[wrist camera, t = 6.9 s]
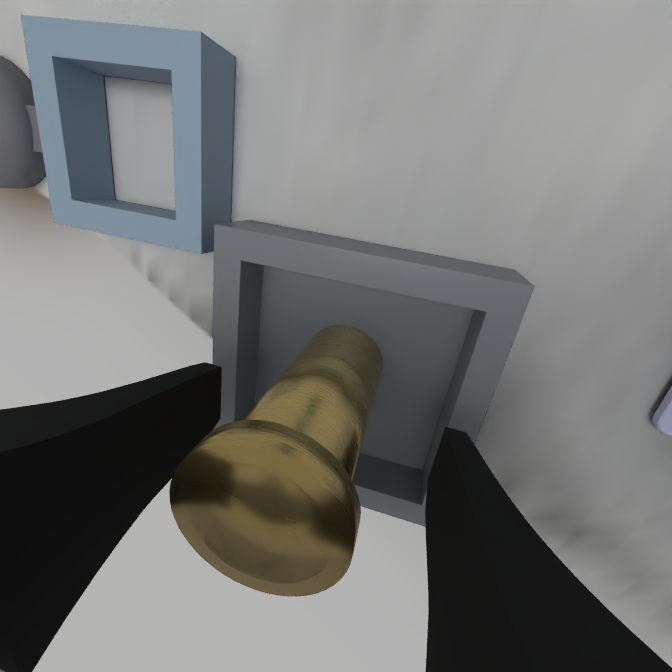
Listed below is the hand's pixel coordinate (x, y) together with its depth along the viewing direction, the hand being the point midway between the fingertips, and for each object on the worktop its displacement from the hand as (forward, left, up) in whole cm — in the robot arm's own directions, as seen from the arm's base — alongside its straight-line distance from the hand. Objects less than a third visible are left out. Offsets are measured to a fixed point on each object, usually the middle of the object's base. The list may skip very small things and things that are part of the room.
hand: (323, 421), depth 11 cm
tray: (0, 0, -4) cm, 4 cm away
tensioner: (+12, -7, -4) cm, 15 cm away
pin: (0, 0, -4) cm, 4 cm away
